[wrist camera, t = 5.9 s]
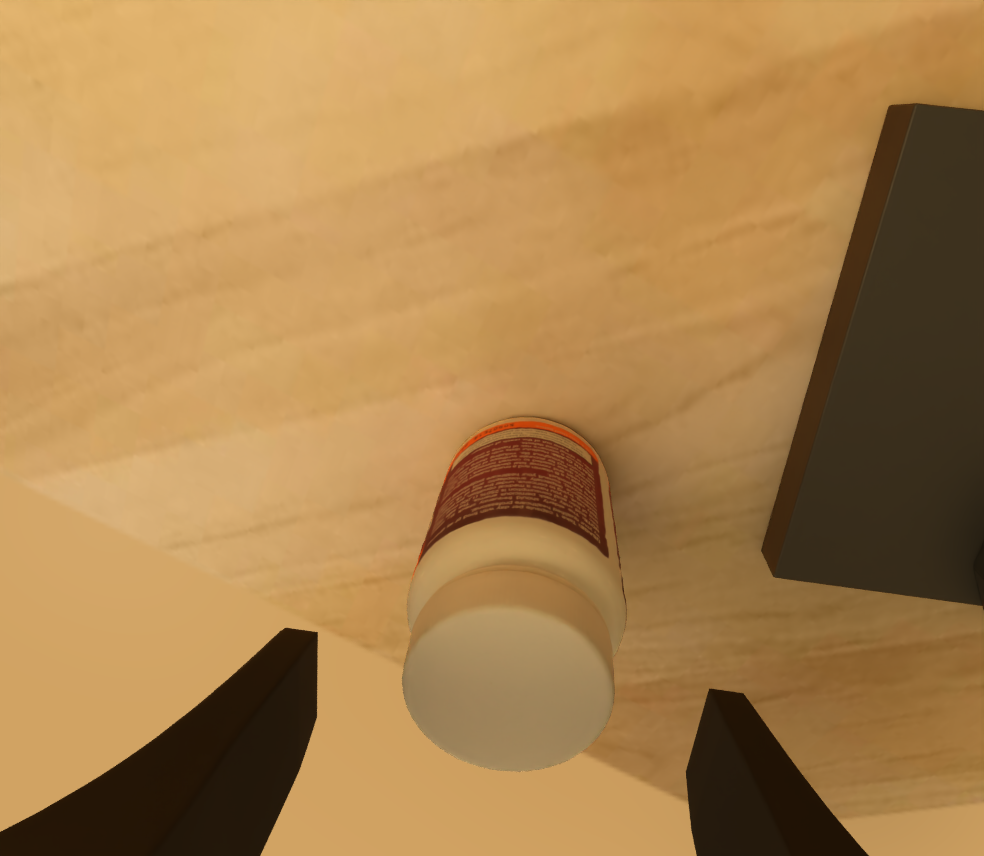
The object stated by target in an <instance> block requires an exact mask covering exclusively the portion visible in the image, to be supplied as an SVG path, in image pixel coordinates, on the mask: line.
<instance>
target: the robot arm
mask: <svg viewBox="0 0 984 856" xmlns="http://www.w3.org/2000/svg"><path fill="white" fill-rule="evenodd" d="M317 644H318V632H312V631H305V630H298V629H291V628H284V629H283V630H282V631H280V632H279V633H278V634H277V635H276V636H275V637H274V638H273V639H271V640H270V641H269V642H268V643H267V644H266V645H265V646H264V647H263V648H262V649H261V650H260V651H259V652H258V653H257V654H256V655H254V657H252V658H251V659H250V660H249V661H248V662H247V663H246V664H244V665H243V666H242V667H241V668H240V669H239V670H238V671H237V672H236V673H235V674H233V675H232V676H231V677H230V678H229V679H228V680H227V681H225V682H224V683H223V684H222V685H221V686H220V687H218V688H217V689H216V690H215V691H214V692H213V693H211V695H209V696H208V697H207V698H206V699H204V700H203V701H202V702H201V703H200V704H198V705H197V706H196V707H195V708H193V709H192V710H191V711H190V712H188V713H187V714H186V715H185V716H183V717H182V718H181V719H179V720H178V721H177V722H176V723H175V724H173V725H172V726H170V727H169V728H168V729H167V730H165V731H164V732H163V733H161V734H160V735H159V736H157V738H155V739H153V740H152V741H151V742H149V743H148V744H147V745H145V746H144V747H143V748H141V749H140V750H138V751H137V752H135V753H134V754H132V755H131V756H130V757H128V758H127V759H125V760H124V761H122V762H121V763H119V764H118V765H116V766H115V767H113V768H112V769H110V770H109V771H107V772H106V773H104V774H102V775H101V776H99V777H98V778H96V779H94V780H93V781H91V782H89V783H88V784H86V785H85V786H83V787H81V788H80V789H78V790H76V791H75V792H73V793H71V794H69V795H67V796H66V797H64V798H62V799H61V800H59V801H57V802H55V803H54V804H52V805H50V806H48V807H47V808H45V809H43V810H42V811H40V812H38V813H36V814H34V815H32V816H30V817H29V818H26V819H25V820H22V821H21V822H19V823H17V824H15V825H13V826H11V827H9V828H7V829H5V830H3V831H1V832H0V856H260V855H261V853H262V851H263V849H264V846H265V844H266V842H267V840H268V837H269V835H270V833H271V831H272V829H273V827H274V825H275V823H276V820H277V818H278V816H279V814H280V812H281V809H282V807H283V805H284V803H285V801H286V799H287V796H288V794H289V792H290V790H291V787H292V785H293V783H294V781H295V779H296V776H297V774H298V772H299V769H300V767H301V764H302V761H303V758H304V755H305V752H306V749H307V746H308V743H309V740H310V737H311V734H312V731H313V727H314V724H315V721H316V718H317V646H318V645H317ZM686 779H687V790H688V802H689V811H690V820H691V829H692V834H693V839H694V845H695V849H696V854H697V856H869V855H868V854H867V853H866V852H865V851H864V850H863V849H862V848H861V847H860V845H859V844H858V843H857V842H856V841H855V839H854V838H853V837H852V836H851V835H850V834H849V832H848V831H847V830H846V829H845V828H844V827H843V825H842V824H841V823H840V822H839V821H838V819H837V818H836V817H835V816H834V815H833V813H832V812H831V811H830V810H829V808H828V807H827V806H826V805H825V804H824V802H823V801H822V800H821V798H820V797H819V796H818V794H817V793H816V792H815V791H814V789H813V788H812V787H811V785H810V784H809V783H808V781H807V780H806V779H805V778H804V776H803V775H802V774H801V772H800V771H799V770H798V768H797V767H796V766H795V764H794V763H793V762H792V760H791V759H790V758H789V756H788V755H787V753H786V752H785V751H784V749H783V748H782V746H781V745H780V744H779V742H778V741H777V740H776V738H775V737H774V735H773V734H772V733H771V731H770V730H769V728H768V727H767V725H766V724H765V723H764V721H763V720H762V718H761V717H760V716H759V714H758V713H757V711H756V710H755V709H754V707H753V706H752V704H751V703H750V702H749V700H748V699H747V698H746V696H745V695H744V694H743V693H737V692H730V691H723V690H716V689H709V691H708V695H707V698H706V702H705V706H704V709H703V713H702V716H701V720H700V723H699V727H698V731H697V734H696V738H695V741H694V745H693V748H692V752H691V756H690V759H689V763H688V766H687V770H686Z"/></svg>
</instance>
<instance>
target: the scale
mask: <svg viewBox="0 0 984 856" xmlns="http://www.w3.org/2000/svg"><path fill="white" fill-rule="evenodd" d="M761 551H762V553H763V556H764V558H765V560H766V562H767V564H768V566H769V568H770V571H771V573H772V575H773V577H775V578H782V579H790V580H797V581H804V582H812V583H819V584H826V585H834V586H841V587H848V588H856V589H863V590H870V591H878V592H885V593H892V594H900V595H907V596H914V597H921V598H929V599H936V600H943V601H951V602H958V603H965V604H973V605H980V606H983V609H984V111H983V110H974V109H964V108H955V107H945V106H936V105H927V104H917V103H916V104H901V105H890V106H889V108H888V111H887V115H886V118H885V122H884V125H883V129H882V132H881V136H880V139H879V142H878V146H877V149H876V153H875V156H874V160H873V163H872V167H871V170H870V174H869V177H868V181H867V184H866V188H865V191H864V195H863V198H862V202H861V205H860V209H859V212H858V216H857V219H856V223H855V226H854V230H853V233H852V236H851V240H850V243H849V247H848V250H847V254H846V257H845V261H844V264H843V268H842V271H841V275H840V278H839V282H838V285H837V289H836V292H835V296H834V299H833V303H832V306H831V310H830V313H829V317H828V320H827V324H826V327H825V330H824V334H823V337H822V341H821V344H820V348H819V351H818V355H817V358H816V362H815V365H814V369H813V372H812V376H811V379H810V383H809V386H808V390H807V393H806V397H805V400H804V404H803V407H802V411H801V414H800V417H799V421H798V424H797V428H796V431H795V435H794V438H793V442H792V445H791V449H790V452H789V456H788V459H787V463H786V466H785V470H784V473H783V477H782V480H781V484H780V487H779V491H778V494H777V498H776V501H775V505H774V508H773V511H772V515H771V518H770V522H769V525H768V529H767V532H766V536H765V539H764V543H763V546H762V550H761Z"/></svg>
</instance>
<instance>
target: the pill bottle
mask: <svg viewBox="0 0 984 856" xmlns="http://www.w3.org/2000/svg"><path fill="white" fill-rule="evenodd" d="M407 615H408V623H409V628H410V632H411V636H410V643H409V647H408V651H407V655H406V659H405V663H404V669H403V676H402V685H403V694H404V699H405V702H406V705H407V708H408V710H409V712H410V714H411V716H412V718H413V720H414V721H415V723H416V724H417V726H418V727H419V728H420V730H421V731H422V732H423V733H424V735H426V736H427V737H428V738H429V739H430V740H431V741H432V742H433V743H434V744H435V745H437V746H438V747H439V748H440V749H442V750H444V751H445V752H447V753H449V754H450V755H452V756H454V757H456V758H458V759H460V760H462V761H465V762H467V763H470V764H473V765H476V766H480V767H484V768H488V769H492V770H500V771H518V772H520V771H532V770H539V769H544V768H547V767H551V766H554V765H557V764H561V763H563V762H566V761H568V760H570V759H571V758H573V757H574V756H576V755H578V754H579V753H581V752H582V751H584V750H585V749H586V748H587V747H588V746H590V745H591V744H592V743H593V742H594V741H595V740H596V739H597V738H598V736H599V735H600V734H601V732H602V731H603V729H604V728H605V726H606V724H607V722H608V720H609V718H610V715H611V712H612V708H613V704H614V694H615V690H614V670H613V658H614V656H615V654H616V652H617V650H618V648H619V645H620V643H621V640H622V637H623V633H624V630H625V626H626V615H627V608H626V599H625V595H624V588H623V579H622V575H621V564H620V557H619V551H618V545H617V536H616V527H615V522H614V516H613V509H612V500H611V493H610V486H609V480H608V476H607V473H606V470H605V468H604V466H603V464H602V461H601V459H600V457H599V456H598V454H597V453H596V451H595V450H594V448H593V447H592V446H591V445H590V444H589V443H588V442H587V441H586V440H585V439H584V438H583V437H581V436H580V435H579V434H577V433H576V432H574V431H573V430H571V429H570V428H568V427H566V426H564V425H561V424H559V423H556V422H553V421H549V420H546V419H542V418H536V417H518V418H510V419H506V420H502V421H498V422H495V423H493V424H490V425H488V426H486V427H484V428H482V429H480V430H478V431H477V432H476V433H474V434H473V435H472V436H471V437H469V438H468V439H467V440H466V441H465V442H464V443H463V444H462V445H461V447H460V448H459V449H458V451H457V452H456V454H455V455H454V457H453V459H452V462H451V464H450V466H449V469H448V472H447V475H446V477H445V480H444V483H443V486H442V489H441V492H440V494H439V497H438V500H437V503H436V507H435V510H434V513H433V516H432V519H431V522H430V525H429V528H428V531H427V535H426V538H425V541H424V543H423V545H422V549H421V553H420V555H419V558H418V563H417V565H416V567H415V570H414V574H413V577H412V580H411V583H410V588H409V593H408V599H407Z"/></svg>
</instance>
